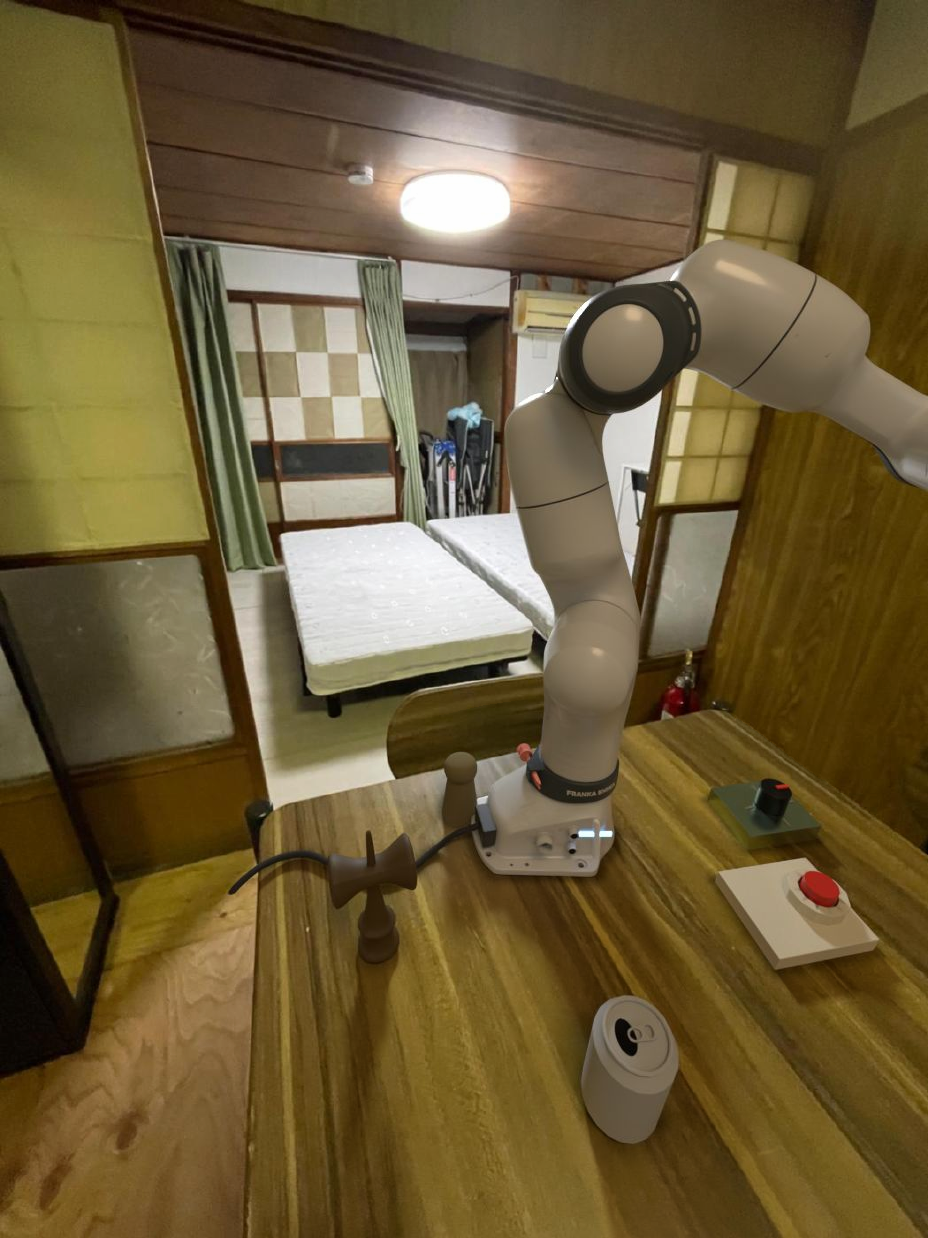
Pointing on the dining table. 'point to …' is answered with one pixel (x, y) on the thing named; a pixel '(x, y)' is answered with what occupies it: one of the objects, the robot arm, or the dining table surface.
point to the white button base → (792, 915)
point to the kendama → (373, 892)
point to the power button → (819, 888)
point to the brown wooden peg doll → (459, 789)
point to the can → (628, 1068)
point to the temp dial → (773, 796)
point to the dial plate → (761, 818)
